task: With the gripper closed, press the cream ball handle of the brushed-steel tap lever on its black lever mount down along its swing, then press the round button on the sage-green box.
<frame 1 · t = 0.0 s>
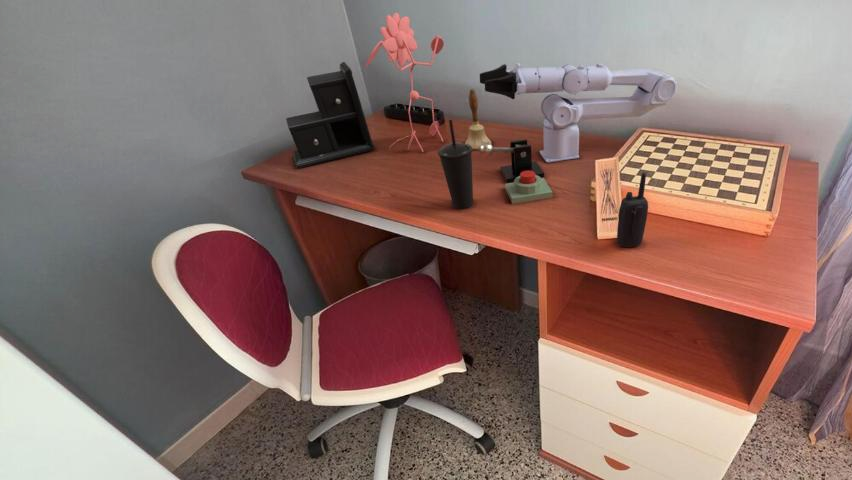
hand: (482, 82, 104), 22 cm above the table, tool horizontal, fingers open, 7 cm apart
tap lever: (502, 149, 108), point 7 cm above the table, hinge at 10.0°
black drawer organizer: (334, 154, 132), on the table
figurine: (418, 144, 135), on the table
button box: (528, 193, 104), on the table
two-way radio: (629, 245, 85), on the table
hand bell: (478, 145, 131), on the table
black lever mount: (522, 174, 113), on the table
button: (527, 177, 102), point 4 cm above the table, slide at 0.1 cm
drinking cup: (463, 205, 102), on the table
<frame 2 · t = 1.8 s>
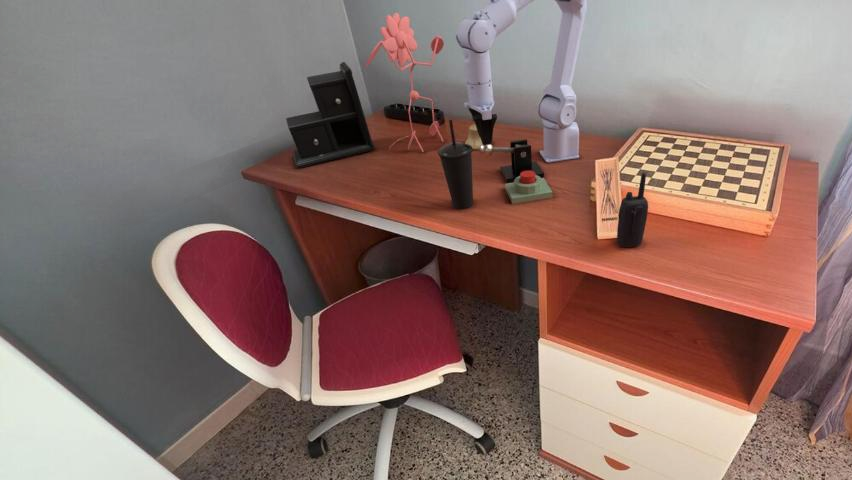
hand: (485, 140, 105), 10 cm above the table, tool pointing down, fingers open, 5 cm apart
nothing on the table moved.
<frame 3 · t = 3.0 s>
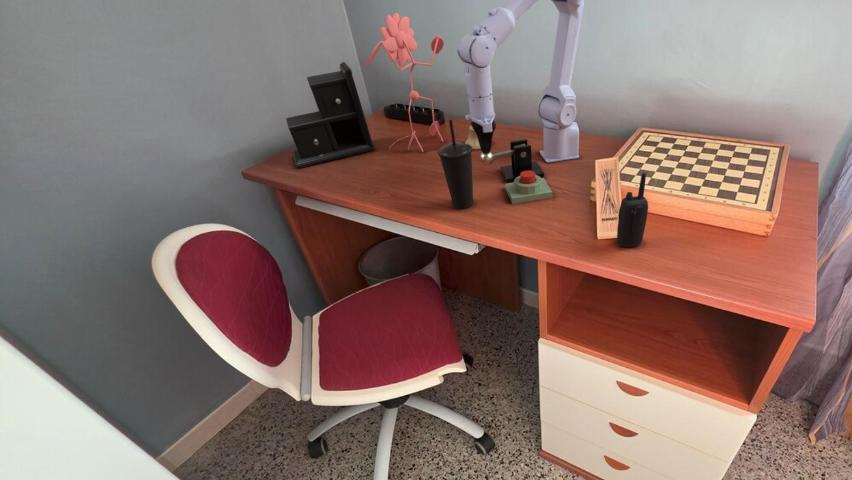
hand: (486, 151, 107), 8 cm above the table, tool pointing down, fingers closed
tap lever: (503, 154, 108), point 6 cm above the table, hinge at -4.5°
everything else where it was.
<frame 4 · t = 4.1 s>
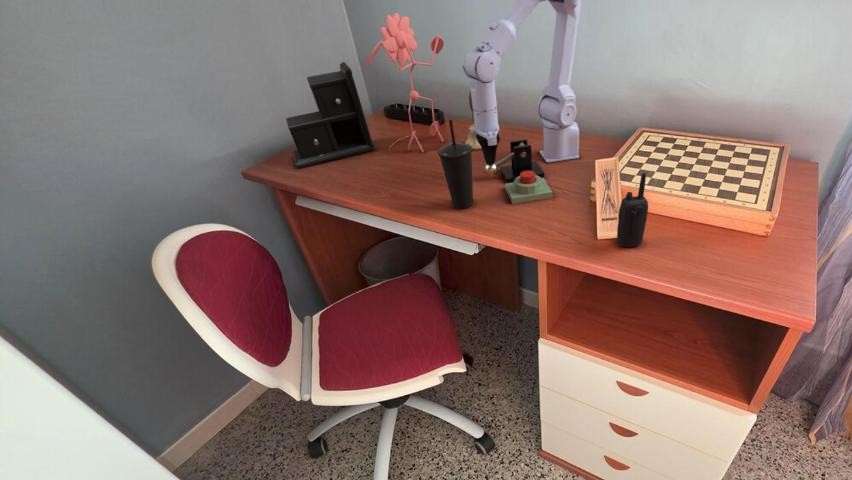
hand: (490, 162, 109), 4 cm above the table, tool pointing down, fingers closed, pressing on tap lever
tap lever: (505, 160, 109), point 4 cm above the table, hinge at -25.4°, touching gripper
everything else where it was.
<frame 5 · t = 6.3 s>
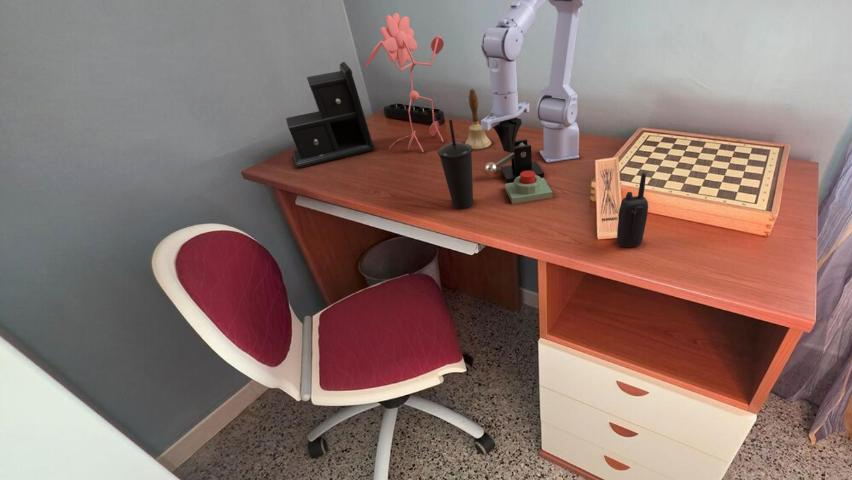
hand: (508, 150, 102), 9 cm above the table, tool pointing down, fingers closed
tap lever: (505, 160, 109), point 4 cm above the table, hinge at -25.4°
everything else where it was.
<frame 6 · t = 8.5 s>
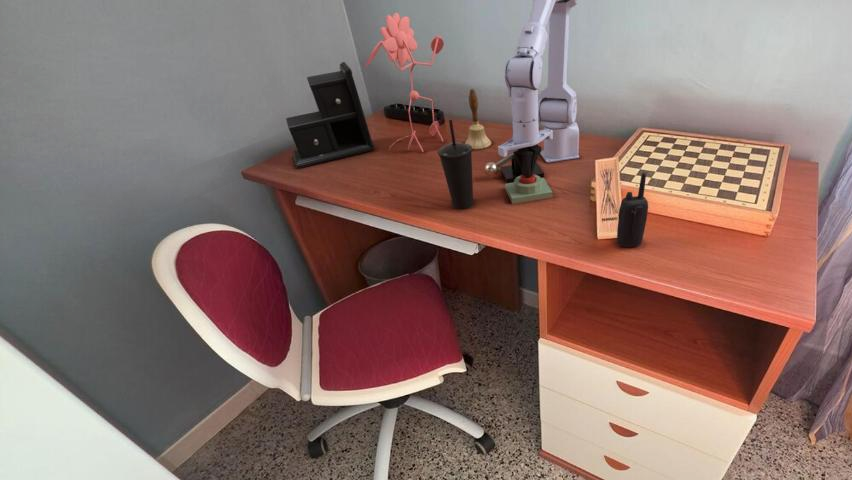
hand: (527, 176, 102), 4 cm above the table, tool pointing down, fingers closed, pressing on button
button: (527, 180, 102), point 3 cm above the table, slide at -0.5 cm, touching gripper
everything else where it was.
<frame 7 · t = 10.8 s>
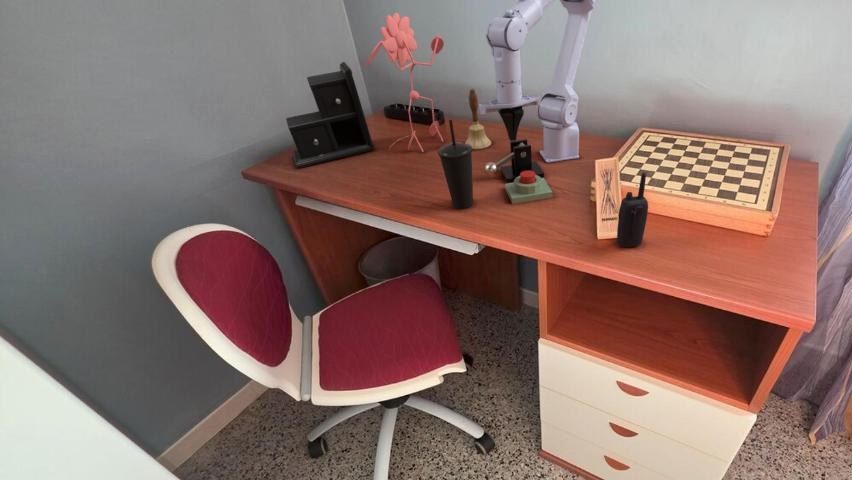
hand: (512, 139, 105), 10 cm above the table, tool pointing down, fingers closed
button: (527, 177, 102), point 4 cm above the table, slide at 0.1 cm
everything else where it was.
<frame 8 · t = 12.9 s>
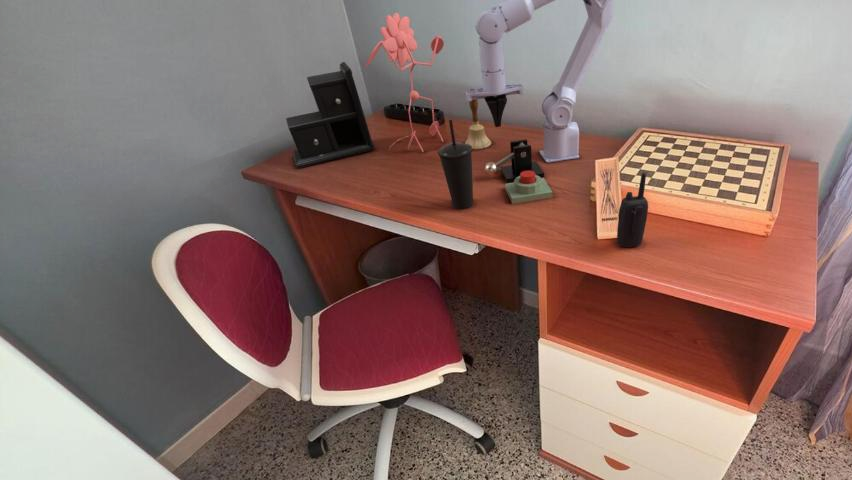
hand: (497, 125, 112), 10 cm above the table, tool pointing down, fingers closed
nothing on the table moved.
at the end: tap lever at -25° (first picture: +10°); button pushed in 1.4 cm at the most during the clip, back to where it started at the end; button slide at 0.1 cm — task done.
